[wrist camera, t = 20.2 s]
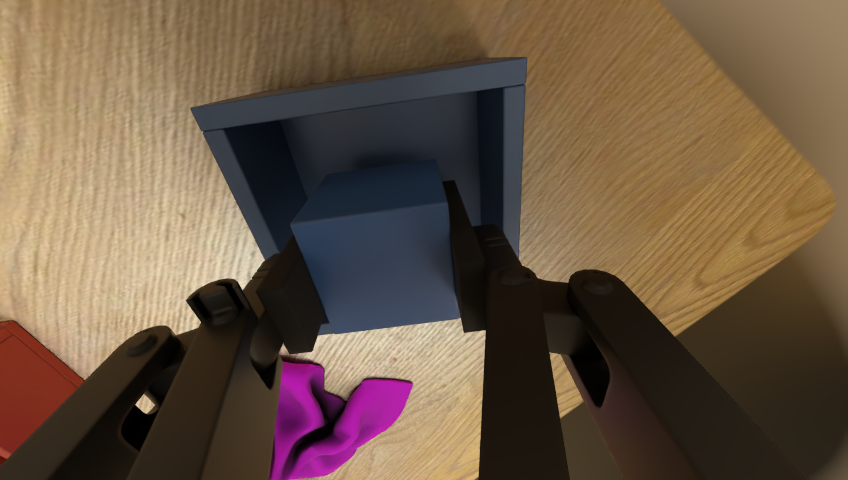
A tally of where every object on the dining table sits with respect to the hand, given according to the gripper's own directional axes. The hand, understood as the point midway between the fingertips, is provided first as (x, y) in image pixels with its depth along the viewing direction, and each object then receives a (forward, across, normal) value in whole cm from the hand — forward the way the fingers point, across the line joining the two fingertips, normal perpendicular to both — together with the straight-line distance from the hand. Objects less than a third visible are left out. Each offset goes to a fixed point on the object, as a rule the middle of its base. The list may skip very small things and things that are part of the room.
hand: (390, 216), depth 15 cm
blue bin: (+4, 0, 0) cm, 4 cm away
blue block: (0, 0, 0) cm, 0 cm away
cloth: (+4, -13, -22) cm, 26 cm away
